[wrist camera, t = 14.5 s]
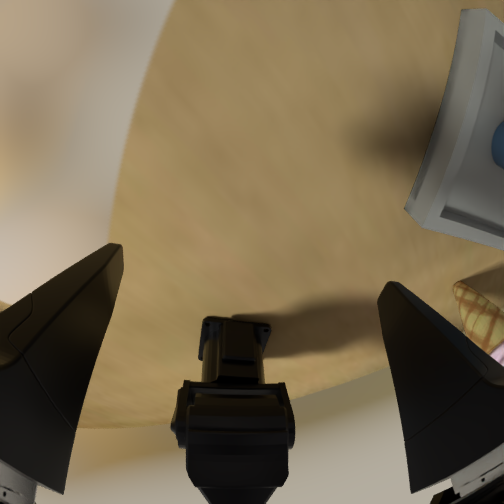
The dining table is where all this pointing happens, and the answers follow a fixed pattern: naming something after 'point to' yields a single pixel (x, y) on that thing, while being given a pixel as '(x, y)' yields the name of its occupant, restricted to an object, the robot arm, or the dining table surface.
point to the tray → (466, 140)
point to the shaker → (498, 146)
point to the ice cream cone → (481, 320)
